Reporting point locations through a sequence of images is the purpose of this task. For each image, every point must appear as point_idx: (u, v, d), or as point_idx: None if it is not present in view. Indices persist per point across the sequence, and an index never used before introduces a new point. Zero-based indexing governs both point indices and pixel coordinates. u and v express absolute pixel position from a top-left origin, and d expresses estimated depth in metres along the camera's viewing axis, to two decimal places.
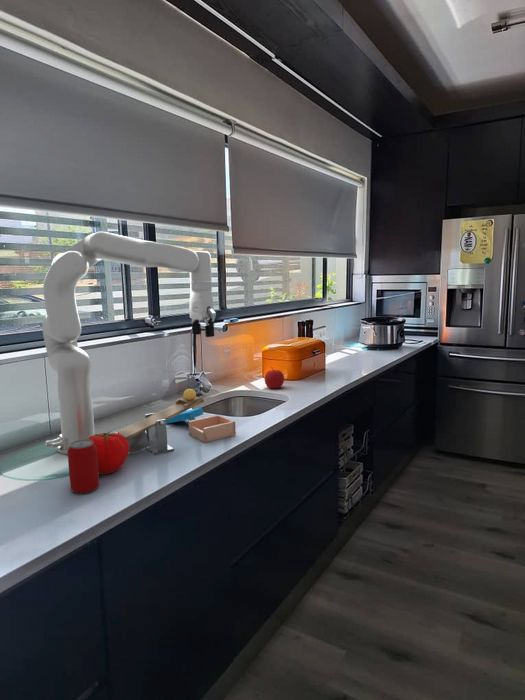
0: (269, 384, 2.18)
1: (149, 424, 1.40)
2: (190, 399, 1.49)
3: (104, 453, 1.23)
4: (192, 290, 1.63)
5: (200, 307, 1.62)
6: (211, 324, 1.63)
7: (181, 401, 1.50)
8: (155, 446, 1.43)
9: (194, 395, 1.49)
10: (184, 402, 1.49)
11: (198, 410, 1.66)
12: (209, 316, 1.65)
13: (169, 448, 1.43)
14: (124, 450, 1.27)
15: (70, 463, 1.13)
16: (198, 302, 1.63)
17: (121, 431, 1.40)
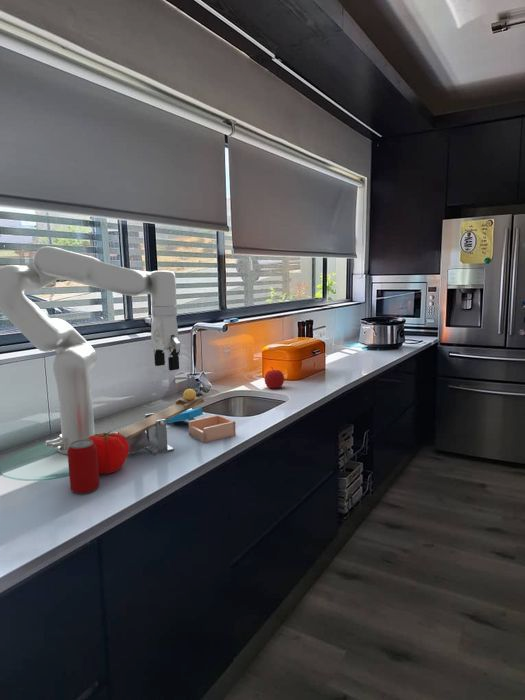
0: (269, 384, 2.18)
1: (149, 424, 1.40)
2: (190, 399, 1.49)
3: (104, 453, 1.23)
4: (153, 316, 1.40)
5: (162, 336, 1.39)
6: (175, 356, 1.40)
7: (181, 401, 1.50)
8: (155, 446, 1.43)
9: (194, 395, 1.49)
10: (184, 402, 1.49)
11: (197, 410, 1.66)
12: (173, 346, 1.42)
13: (169, 448, 1.43)
14: (124, 450, 1.27)
15: (70, 463, 1.13)
16: (160, 330, 1.40)
17: (121, 431, 1.40)
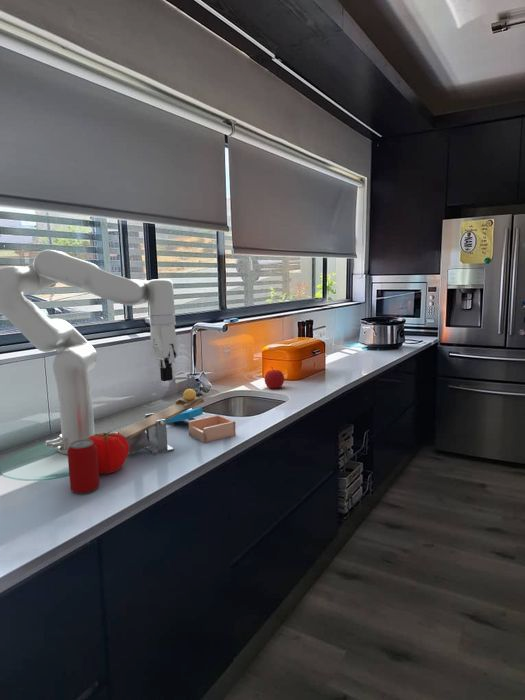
0: (269, 384, 2.18)
1: (149, 424, 1.40)
2: (190, 399, 1.49)
3: (104, 453, 1.23)
4: (152, 325, 1.40)
5: (161, 345, 1.38)
6: (168, 367, 1.43)
7: (181, 401, 1.50)
8: (155, 446, 1.43)
9: (194, 395, 1.49)
10: (184, 402, 1.49)
11: (197, 410, 1.66)
12: None
13: (169, 448, 1.43)
14: (124, 450, 1.27)
15: (70, 463, 1.13)
16: (159, 339, 1.39)
17: (121, 431, 1.40)
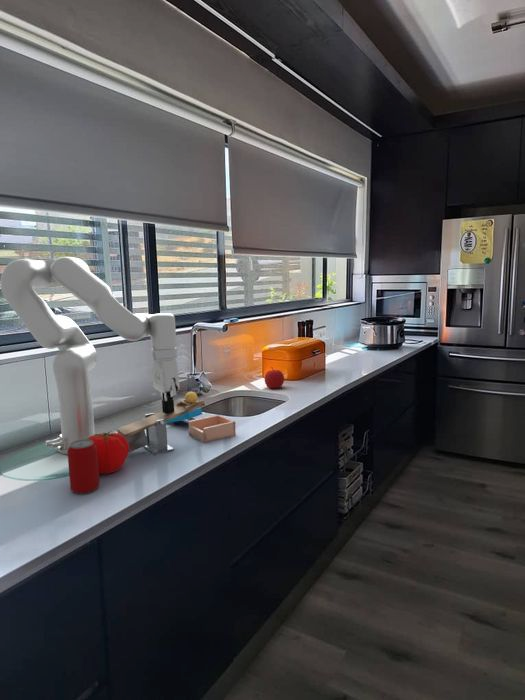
0: (269, 384, 2.18)
1: (149, 423, 1.40)
2: (191, 402, 1.49)
3: (104, 453, 1.23)
4: (154, 359, 1.41)
5: (163, 379, 1.40)
6: (170, 399, 1.44)
7: (182, 403, 1.51)
8: (155, 446, 1.43)
9: (195, 398, 1.49)
10: (185, 404, 1.49)
11: (197, 410, 1.66)
12: None
13: (169, 448, 1.43)
14: (124, 450, 1.27)
15: (70, 463, 1.13)
16: (161, 373, 1.41)
17: (120, 428, 1.40)
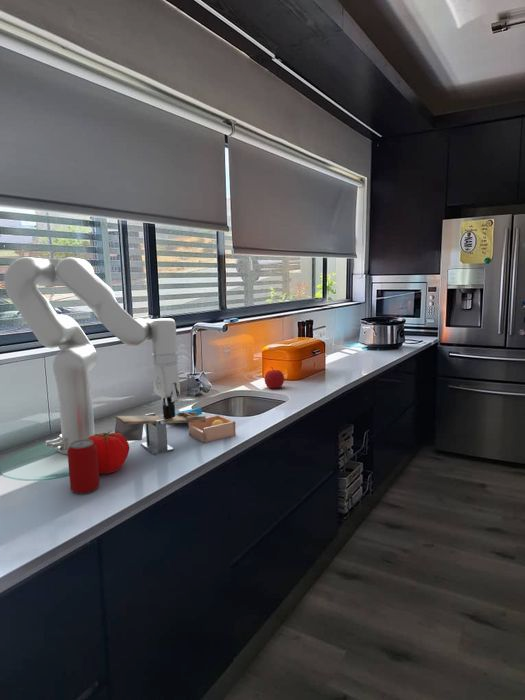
0: (269, 384, 2.18)
1: (149, 420, 1.40)
2: None
3: (104, 453, 1.23)
4: (154, 364, 1.41)
5: (164, 384, 1.40)
6: (171, 404, 1.44)
7: (183, 414, 1.51)
8: (155, 446, 1.43)
9: None
10: (187, 415, 1.50)
11: (197, 410, 1.66)
12: None
13: (169, 448, 1.43)
14: (124, 450, 1.27)
15: (70, 463, 1.13)
16: (161, 378, 1.41)
17: (120, 417, 1.40)
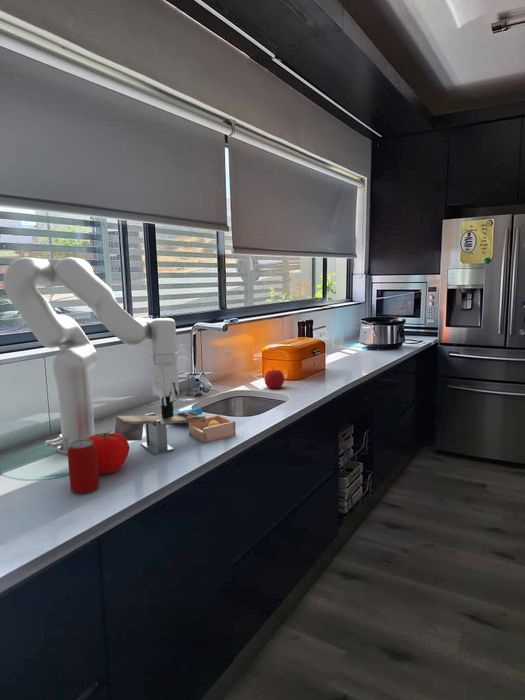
0: (269, 384, 2.18)
1: (149, 420, 1.40)
2: None
3: (104, 453, 1.23)
4: (154, 363, 1.41)
5: (162, 384, 1.40)
6: (169, 404, 1.44)
7: (183, 414, 1.51)
8: (155, 446, 1.43)
9: None
10: (187, 415, 1.50)
11: (197, 410, 1.67)
12: None
13: (169, 448, 1.43)
14: (124, 450, 1.27)
15: (70, 463, 1.13)
16: (160, 378, 1.41)
17: (120, 417, 1.40)
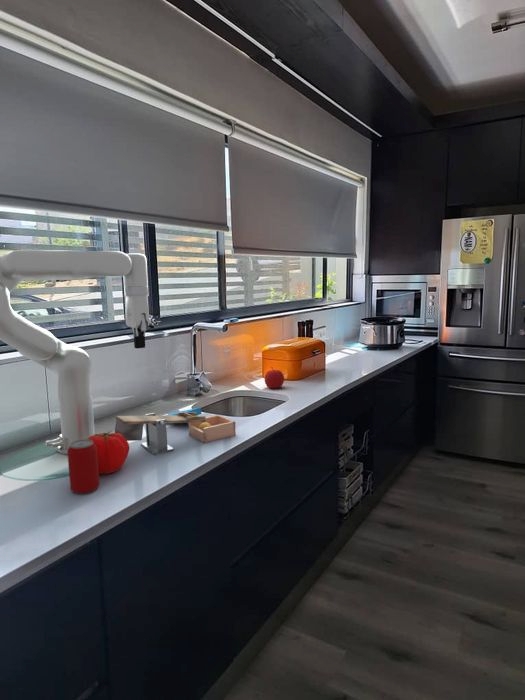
0: (269, 384, 2.18)
1: (149, 420, 1.40)
2: (208, 425, 1.54)
3: (104, 453, 1.23)
4: (126, 295, 1.52)
5: (133, 314, 1.50)
6: (141, 335, 1.54)
7: (183, 414, 1.51)
8: (155, 446, 1.43)
9: None
10: (187, 415, 1.50)
11: (196, 410, 1.66)
12: None
13: (169, 448, 1.43)
14: (124, 450, 1.27)
15: (70, 463, 1.13)
16: (132, 308, 1.51)
17: (120, 417, 1.40)
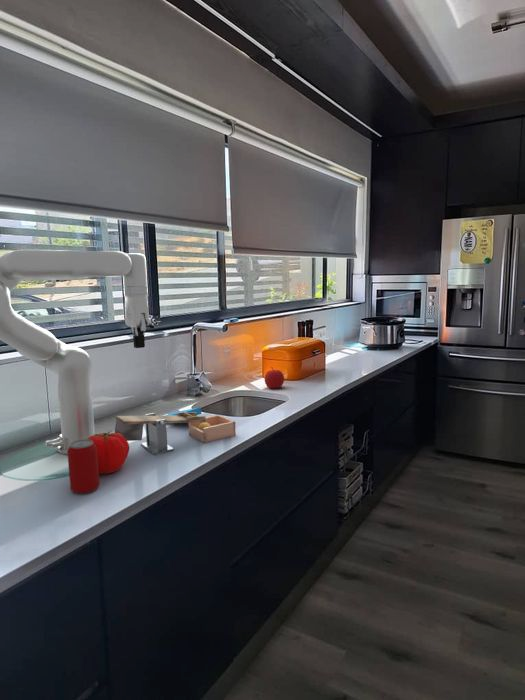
0: (269, 384, 2.18)
1: (149, 420, 1.40)
2: (208, 426, 1.53)
3: (104, 453, 1.23)
4: (125, 295, 1.52)
5: (133, 313, 1.51)
6: (140, 334, 1.55)
7: (183, 414, 1.51)
8: (155, 446, 1.43)
9: None
10: (187, 415, 1.50)
11: (196, 410, 1.67)
12: None
13: (169, 448, 1.43)
14: (124, 450, 1.27)
15: (70, 463, 1.13)
16: (131, 308, 1.51)
17: (120, 417, 1.40)
